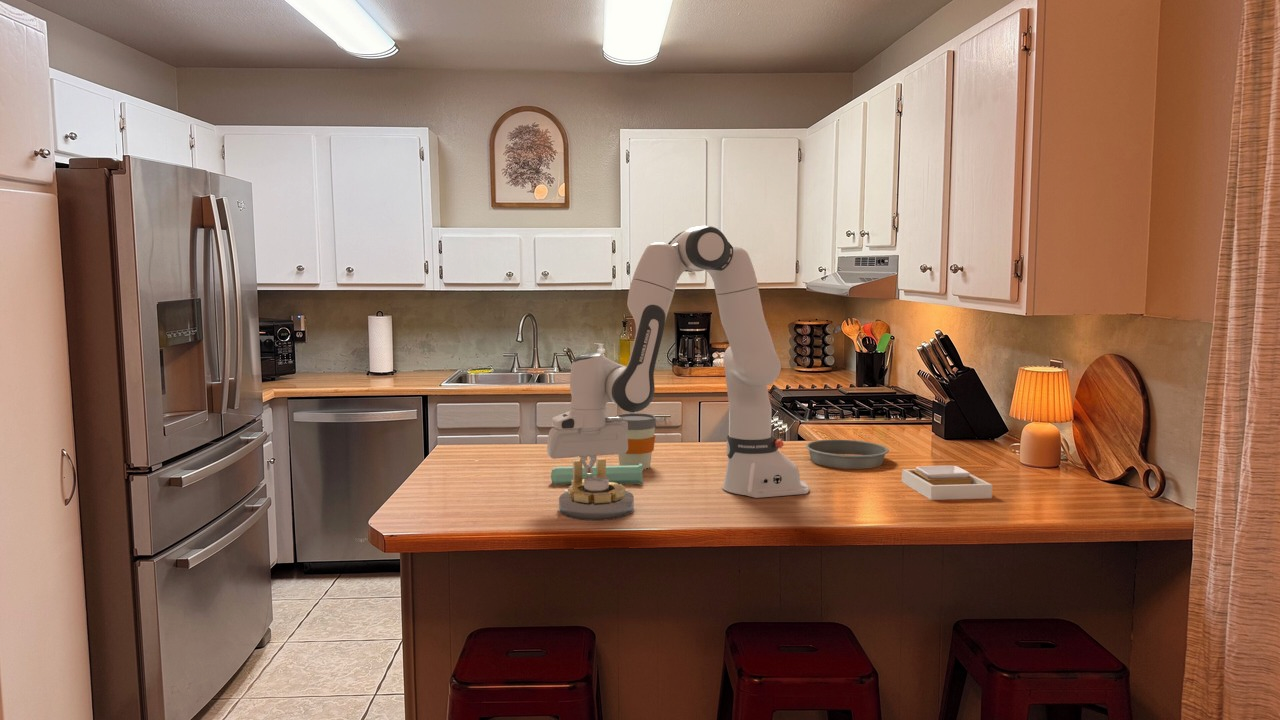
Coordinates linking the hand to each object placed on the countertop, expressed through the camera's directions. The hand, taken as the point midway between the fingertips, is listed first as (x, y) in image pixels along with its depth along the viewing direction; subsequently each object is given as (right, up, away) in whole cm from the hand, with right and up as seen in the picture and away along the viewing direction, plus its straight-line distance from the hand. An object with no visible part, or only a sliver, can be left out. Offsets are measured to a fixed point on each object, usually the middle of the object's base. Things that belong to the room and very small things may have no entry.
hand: (588, 473), depth 204 cm
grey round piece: (+3, -8, -6) cm, 10 cm away
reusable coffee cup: (+12, -4, +38) cm, 39 cm away
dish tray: (+93, -6, +11) cm, 94 cm away
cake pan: (+76, -3, +45) cm, 89 cm away
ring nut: (+2, -4, -5) cm, 7 cm away
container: (+1, -6, +19) cm, 19 cm away
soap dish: (+94, -6, +14) cm, 95 cm away
